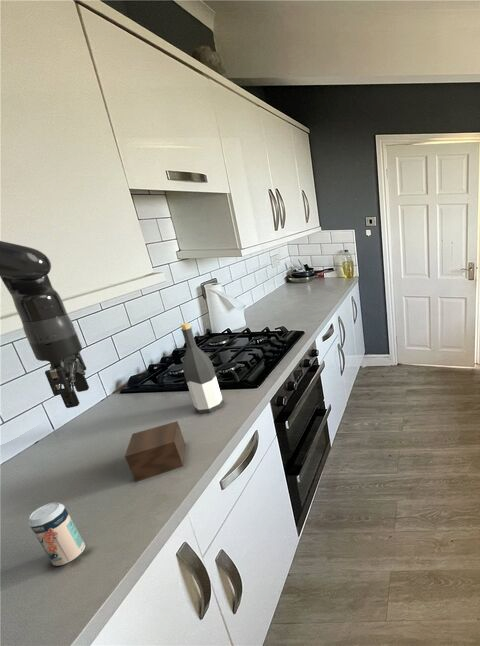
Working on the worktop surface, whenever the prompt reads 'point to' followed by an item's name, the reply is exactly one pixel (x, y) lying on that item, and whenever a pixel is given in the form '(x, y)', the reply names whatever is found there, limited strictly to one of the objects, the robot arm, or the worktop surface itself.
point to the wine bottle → (200, 375)
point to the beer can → (56, 533)
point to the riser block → (155, 451)
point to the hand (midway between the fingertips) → (78, 398)
